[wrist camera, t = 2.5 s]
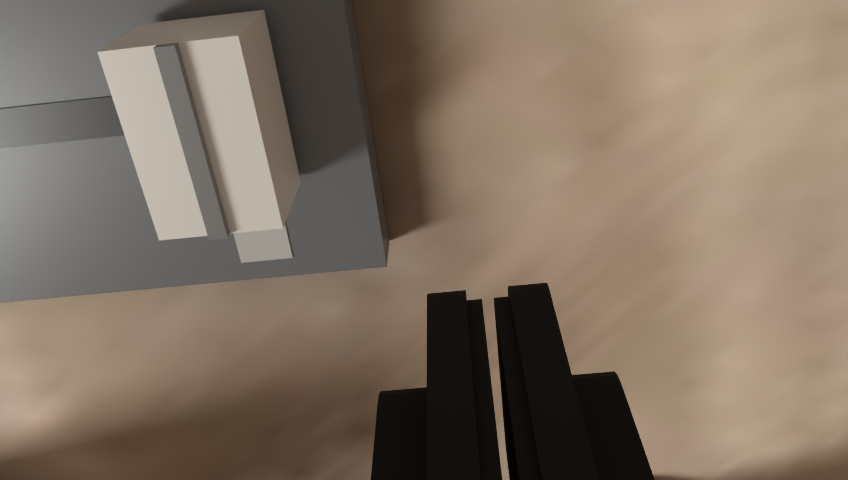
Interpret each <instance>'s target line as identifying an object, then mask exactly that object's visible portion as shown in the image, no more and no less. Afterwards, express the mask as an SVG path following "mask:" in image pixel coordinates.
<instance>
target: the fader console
mask: <svg viewBox="0 0 848 480" xmlns="http://www.w3.org/2000/svg"><path fill="white" fill-rule="evenodd" d="M257 10H264V12H265V17H266V21H267V26H268V31H269V35H270V40H271V45H272V50H273V54H274V59H275V64H276V68H277V73H278V78H279V82H280V87H281V92H282V97H283V101H284V106H285V111H286V115H287V120H288V125H289V129H290V134H291V139H292V144H293V148H294V153H295V158H296V162H297V167H298V172H299V176H300V181H301V183H300V186H299V188H298V191H297V194H296V196H295V199H294V201H293V204H292V207H291V209H290V212H289V215H288V217H287V220H286V222H285V225H284V228H282V229H272V230H262V231H252V232H241V233H231V234H230V235H229V237H228V238H224V239H214V240H209V238H208V236H200V237H190V238H180V239H170V240H160V241H159V239H158V236H157V233H156V230H155V227H154V224H153V220H152V217H151V214H150V211H149V208H148V205H147V202H146V199H145V196H144V193H143V190H142V187H141V184H140V181H139V178H138V175H137V172H136V169H135V166H134V163H133V159H132V156H131V153H130V150H129V147H128V144H127V141H126V138H125V135H124V132H123V129H122V126H121V123H120V120H119V117H118V114H117V111H116V108H115V105H114V101H113V98H112V95H111V92H110V89H109V86H108V83H107V80H106V77H105V74H104V71H103V68H102V65H101V62H100V59H99V56H98V53H97V52H98V51H99V50H101V49H103V48H104V47H106V46H107V45H109V44H110V43H112V42H114V41H115V40H117V39H118V38H120V37H122V36H123V35H125V34H126V33H128V32H129V31H131V30H133V29H134V28H136V27H137V26H139V25H141V24H146V23H155V22H163V21H172V20H180V19H189V18H197V17H206V16H214V15H223V14H231V13H240V12H249V11H257ZM388 249H389V236H388V230H387V223H386V217H385V211H384V204H383V198H382V191H381V185H380V178H379V172H378V166H377V159H376V153H375V146H374V140H373V134H372V127H371V121H370V114H369V108H368V102H367V95H366V89H365V82H364V76H363V69H362V63H361V57H360V50H359V44H358V37H357V31H356V25H355V18H354V12H353V5H352V0H0V303H3V302H13V301H24V300H35V299H45V298H56V297H67V296H77V295H88V294H99V293H110V292H120V291H131V290H142V289H152V288H163V287H174V286H184V285H195V284H206V283H216V282H227V281H238V280H248V279H259V278H270V277H280V276H291V275H302V274H313V273H323V272H334V271H345V270H355V269H366V268H377V267H387V259H388Z"/></svg>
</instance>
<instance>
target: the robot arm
mask: <svg viewBox="0 0 848 480" xmlns="http://www.w3.org/2000/svg"><path fill="white" fill-rule="evenodd" d="M494 307H495V319H496V332H497V344H498V357H499V369H500V381H501V394H502V406H503V418H504V431H505V442H506V452H507V462H508V470H509V478H510V480H654V477H653V474H652V471H651V468H650V465H649V462H648V460H647V457H646V454H645V451H644V448H643V445H642V442H641V439H640V437H639V434H638V431H637V428H636V425H635V422H634V419H633V416H632V414H631V411H630V408H629V405H628V402H627V399H626V396H625V393H624V390H623V388H622V385H621V382H620V380H619V377H618V375H617V374H616V373H615V372H604V373H592V374H580V375H572V374H571V371H570V367H569V363H568V359H567V355H566V352H565V348H564V344H563V340H562V336H561V332H560V329H559V325H558V321H557V317H556V313H555V310H554V306H553V302H552V298H551V294H550V291H549V287H548V284H547V283H539V284H528V285H517V286H508V297H499V298H494ZM371 480H502V475H501V466H500V457H499V448H498V439H497V430H496V421H495V413H494V404H493V395H492V386H491V377H490V368H489V359H488V351H487V342H486V333H485V324H484V315H483V306H482V299H477V300H467V299H466V291H465V290H463V291H452V292H442V293H431V294H427V387H426V388H415V389H403V390H391V391H381V392H380V394H379V398H378V406H377V417H376V428H375V440H374V451H373V462H372V473H371Z"/></svg>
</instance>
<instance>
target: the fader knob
mask: <svg viewBox="0 0 848 480" xmlns="http://www.w3.org/2000/svg"><path fill="white" fill-rule="evenodd" d="M97 53H98V56H99V59H100V62H101V65H102V68H103V71H104V74H105V77H106V80H107V83H108V86H109V89H110V92H111V95H112V98H113V101H114V105H115V108H116V111H117V114H118V117H119V120H120V123H121V126H122V129H123V132H124V135H125V138H126V141H127V144H128V147H129V150H130V153H131V156H132V159H133V163H134V166H135V169H136V172H137V175H138V178H139V181H140V184H141V187H142V190H143V193H144V196H145V199H146V202H147V205H148V208H149V211H150V214H151V217H152V220H153V224H154V227H155V230H156V233H157V236H158V239H159V241H160V240H170V239H180V238H190V237H200V236H208V238H209V240H214V239H224V238H228V237H229V235H230V234H231V233H241V232H252V231H262V230H272V229H282V228H284V225H285V222H286V220H287V217H288V215H289V212H290V209H291V207H292V204H293V201H294V199H295V196H296V194H297V191H298V188H299V186H300V183H301V181H300V176H299V172H298V167H297V162H296V158H295V153H294V148H293V144H292V139H291V134H290V129H289V125H288V120H287V115H286V111H285V106H284V101H283V97H282V92H281V87H280V82H279V78H278V73H277V68H276V64H275V59H274V54H273V50H272V45H271V40H270V35H269V31H268V26H267V21H266V17H265V12H264V10H257V11H249V12H240V13H231V14H223V15H214V16H206V17H197V18H189V19H180V20H172V21H163V22H155V23H146V24H141V25H139V26H137V27H136V28H134V29H133V30H131V31H129V32H128V33H126V34H125V35H123V36H122V37H120V38H118V39H117V40H115V41H114V42H112V43H110V44H109V45H107V46H106V47H104V48H103V49H101V50H99V51H98V52H97Z"/></svg>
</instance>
